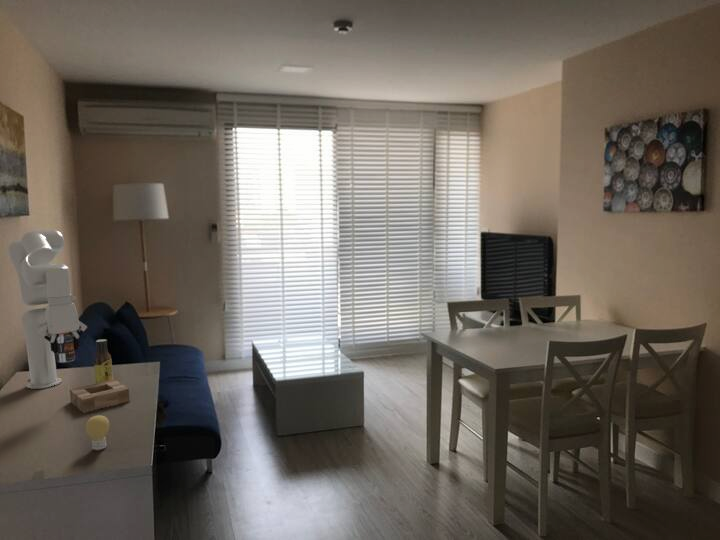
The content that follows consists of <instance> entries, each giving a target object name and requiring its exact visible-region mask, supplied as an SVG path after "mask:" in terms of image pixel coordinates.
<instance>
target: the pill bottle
mask: <svg viewBox="0 0 720 540" xmlns="http://www.w3.org/2000/svg"><path fill="white" fill-rule="evenodd" d="M55 342H56V347H57V353H56V354H55V359H56V362H57V363H61V364H62V363H69V362H73V361H75V359H76V352H75V351H76V350H75V349H74V338H73V334H71V332H64V333H61V334H56V337H55Z"/></svg>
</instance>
